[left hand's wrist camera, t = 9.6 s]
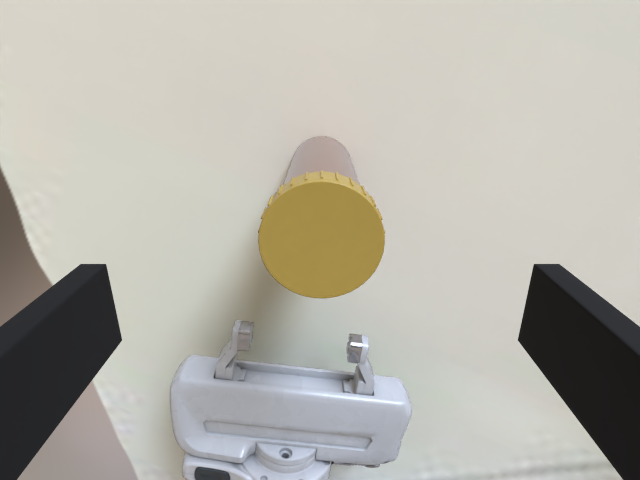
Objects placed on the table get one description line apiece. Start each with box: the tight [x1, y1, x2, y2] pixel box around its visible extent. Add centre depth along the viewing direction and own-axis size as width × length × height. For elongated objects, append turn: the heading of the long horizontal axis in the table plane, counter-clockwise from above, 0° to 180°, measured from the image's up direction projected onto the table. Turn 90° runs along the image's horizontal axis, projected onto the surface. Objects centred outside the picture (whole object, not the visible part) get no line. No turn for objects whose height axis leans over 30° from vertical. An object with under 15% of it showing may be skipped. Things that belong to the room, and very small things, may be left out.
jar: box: [283, 136, 360, 185], centre depth 27 cm, size 5×5×17 cm
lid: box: [258, 170, 385, 298], centre depth 20 cm, size 6×6×2 cm
